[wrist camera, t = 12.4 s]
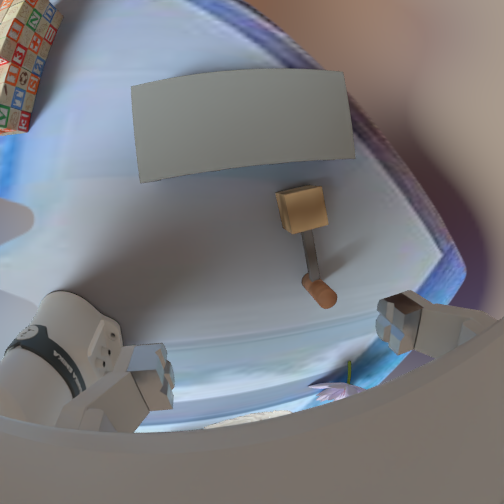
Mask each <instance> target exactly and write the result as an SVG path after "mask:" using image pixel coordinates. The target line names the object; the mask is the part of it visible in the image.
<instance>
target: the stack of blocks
mask: <svg viewBox="0 0 504 504" xmlns="http://www.w3.org/2000/svg"><path fill="white" fill-rule="evenodd" d="M62 19H63V15H62V14H61V13H60V12H59V11H58V10H56V8H55V7H54V6H53V5H52V4H51V3H50V2H49V0H4V1H3V2H2V4H1V6H0V135H2V136H5V135H12V134H21V133H27V132H28V128H29V122H30V116H31V113H32V109H33V105H34V101H35V95H36V92H37V89H38V85H39V82H40V77H41V74H42V71H43V67H44V64H45V61H46V58H47V55H48V52H49V50H50V47H51V45H52V43H53V40H54V37H55V35H56V33H57V30H58V28H59V26H60V24H61V21H62Z"/></svg>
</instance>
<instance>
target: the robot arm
mask: <svg viewBox="0 0 504 504" xmlns="http://www.w3.org/2000/svg"><path fill="white" fill-rule="evenodd" d="M377 311H378V312H379V316H378V317H377V319H376V331H377V334H378V336H379V338H380V339H381V340H382V341H385V342H388V343H389V348H390V349H391V350H393V351H394V352H395V353H396V354H397V355H400V354H403V353H405V352H408V351H410V350H413V349H414V350H416V351H418V352H421V353H423V354H426V355H428V356H431V357H434V358H436V359H434V360H433V361H430V362H429V363H427V364H425V365H423V366H421V367H418V368H416V369H414V370H412V371H410V372H408V373H406V374H404V375H401V376H399V377H397V378H395V379H392V380H390V381H388V382H385V383H383V384H380V385H378V386H375V387H373V388H370V389H368V390H365V391H362V392H359V393H357V394H354V395H351V396H348V397H345V398H342V399H339V400H336V401H333V402H330V403H327V404H323V405H320V406H317V407H313V408H309V409H306V410H302V411H298V412H294V413H290V414H286V415H282V416H278V417H273V418H269V419H264V420H259V421H254V422H248V423H243V424H237V425H230V426H224V427H216V428H208V429H199V430H189V431H176V432H152V433H133V432H134V431H135V430H136V429H137V428H138V426H139V425H140V424H141V423H142V421H143V420H144V419H145V417H146V416H147V415H148V414H149V411H156V410H168V409H173V398H174V395H173V393H172V389H173V388H174V385H175V380H174V372H173V368H172V365H171V362H169V361H168V360H167V350H166V348H165V345H164V344H163V343H154V344H142V345H129V346H123V341H122V335H121V329H120V325H119V324H118V323H117V322H116V321H115V320H113V319H111V318H109V317H107V316H104V315H102V314H101V313H100V312H98V311H97V310H96V309H95V308H94V307H93V306H92V305H91V304H90V303H89V302H87V301H86V300H85V299H83V298H81V297H80V296H78V295H75V294H73V293H70V292H64V291H57V292H53V293H50V294H48V295H47V296H46V297H45V298H44V299H43V300H42V301H41V303H40V306H39V308H38V311H37V313H36V315H35V317H34V318H33V320H32V321H31V323H30V324H29V326H28V327H26V328H25V329H24V330H23V331H21V332H20V333H19V335H18V336H17V337H16V339H14V341H13V342H12V343H11V344H10V345H9V347H8V348H7V349H6V351H5V354H4V358H3V359H2V360H1V361H0V504H504V317H503V318H502V319H500V320H496V319H495V318H493V317H492V316H490V315H488V314H487V313H485V312H483V311H479V310H472V309H465V308H460V307H454V306H448V305H442V304H432V303H431V302H429V301H428V300H426V299H424V298H423V297H421V296H420V295H418V294H416V293H415V292H413V291H411V290H407V291H405V292H402V293H399V294H396V295H393V296H390V297H387V298H384V299H381V300H379V302H378V305H377ZM112 333H114V334H115V335H113V334H112Z"/></svg>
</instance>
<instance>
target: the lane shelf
mask: <svg viewBox="0 0 504 504" xmlns="http://www.w3.org/2000/svg"><path fill="white" fill-rule="evenodd" d="M131 98H132V113H133V125H134V136H135V146H136V155H137V163H138V170H139V178H140V183H147V182H154V181H159V180H161V179H166V178H172V177H177V176H183V175H189V174H195V173H202V172H208V171H211V172H212V171H220V170H223V169H230V168H238V167H246V166H255V165H264V164H269V165H270V164H280V163H288V162H298V161H313V160H335V159H356V158H355V148H354V139H353V131H352V123H351V116H350V109H349V103H348V96H347V90H346V85H345V79H344V74H343V72H339V71H328V70H313V69H245V70H230V71H219V72H210V73H201V74H194V75H187V76H181V77H175V78H169V79H164V80H158V81H154V82H149V83H144V84H140V85H136V86H132V87H131Z"/></svg>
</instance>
